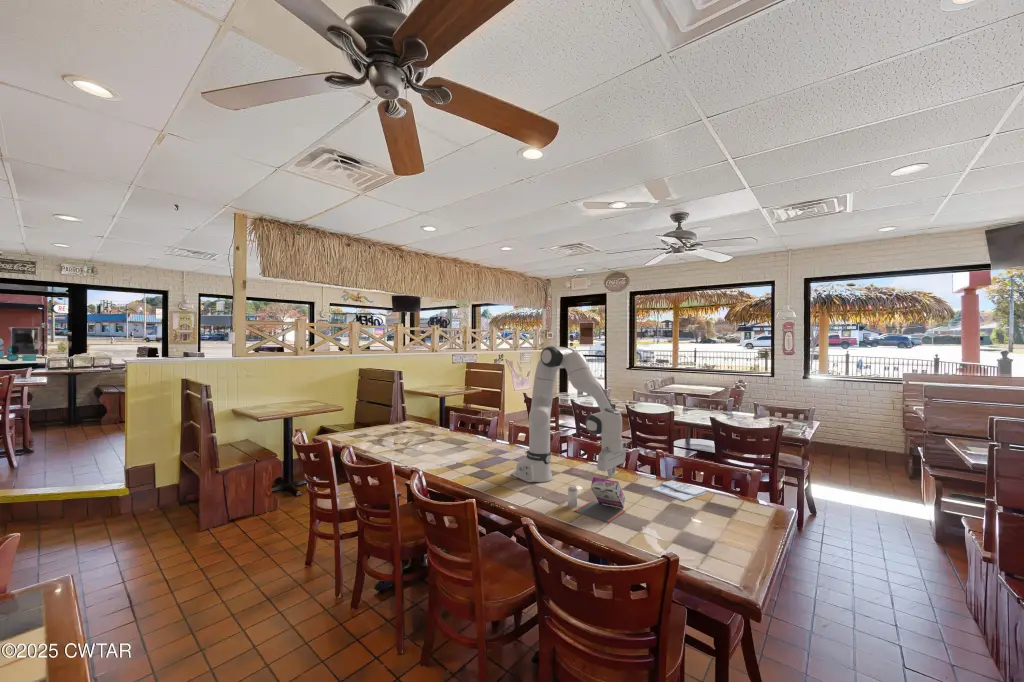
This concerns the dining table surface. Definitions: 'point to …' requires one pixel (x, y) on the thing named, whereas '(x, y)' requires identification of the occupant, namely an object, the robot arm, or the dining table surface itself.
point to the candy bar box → (608, 492)
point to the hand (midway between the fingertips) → (611, 476)
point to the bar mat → (600, 511)
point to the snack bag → (686, 490)
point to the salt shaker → (572, 497)
